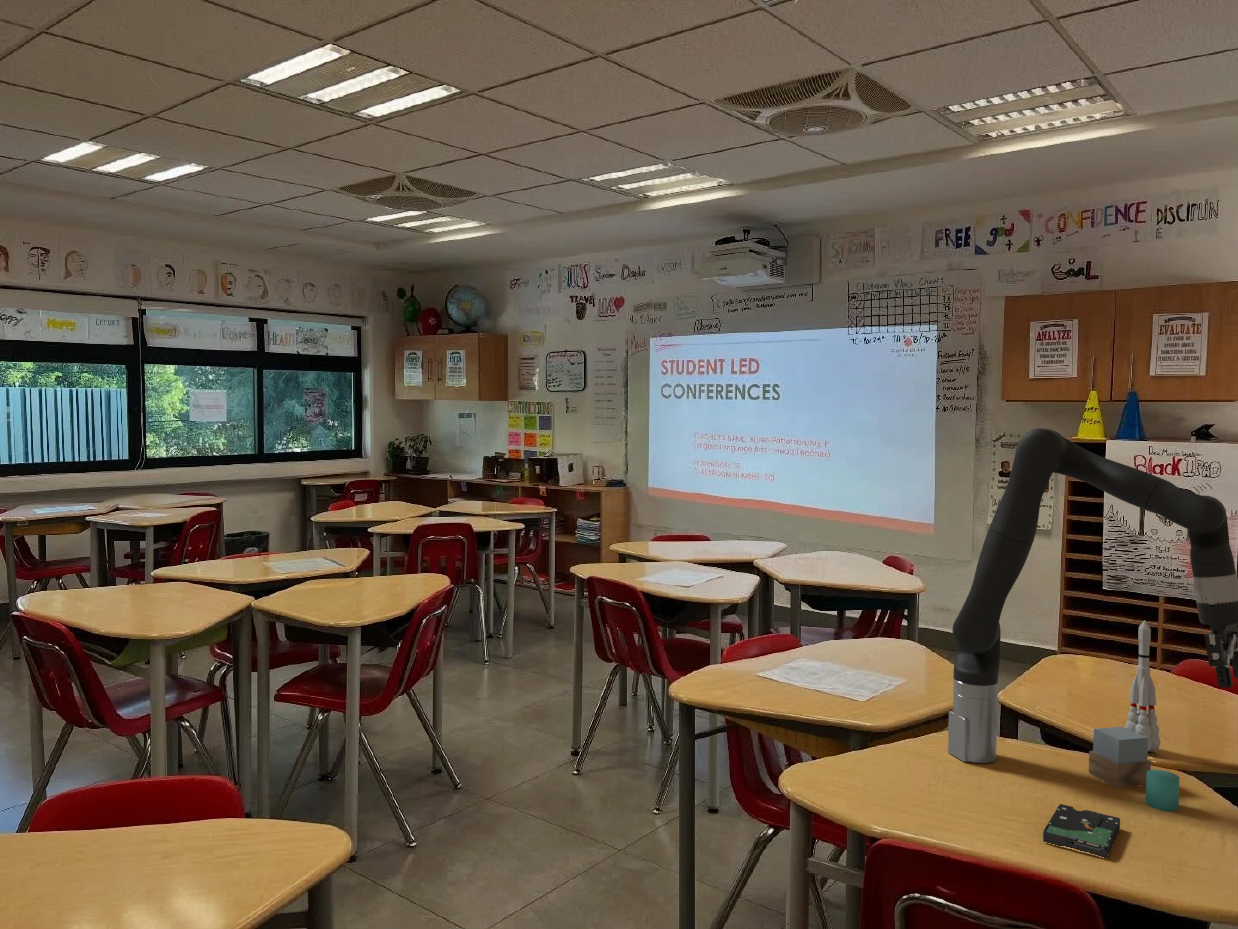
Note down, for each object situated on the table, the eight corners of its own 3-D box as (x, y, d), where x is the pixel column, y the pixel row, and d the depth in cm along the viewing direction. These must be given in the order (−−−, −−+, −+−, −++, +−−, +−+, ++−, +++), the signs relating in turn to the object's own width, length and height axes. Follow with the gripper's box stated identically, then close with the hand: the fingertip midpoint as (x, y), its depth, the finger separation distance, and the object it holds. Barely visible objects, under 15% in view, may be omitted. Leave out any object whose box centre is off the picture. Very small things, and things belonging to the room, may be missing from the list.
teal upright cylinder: (1161, 812, 170) (1162, 781, 170) (1138, 801, 176) (1139, 771, 175) (1185, 810, 172) (1186, 779, 171) (1162, 798, 177) (1163, 768, 177)
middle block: (1118, 764, 182) (1119, 740, 182) (1093, 752, 189) (1093, 728, 189) (1147, 761, 184) (1147, 737, 184) (1121, 749, 191) (1121, 726, 190)
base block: (1117, 789, 182) (1118, 765, 182) (1088, 774, 190) (1089, 751, 190) (1150, 785, 184) (1151, 761, 184) (1120, 771, 192) (1120, 748, 191)
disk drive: (1058, 817, 169) (1042, 846, 157) (1058, 803, 169) (1042, 830, 157) (1120, 832, 163) (1108, 863, 151) (1120, 817, 163) (1108, 846, 151)
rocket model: (1157, 747, 205) (1161, 618, 204) (1162, 758, 199) (1166, 625, 197) (1121, 743, 208) (1124, 616, 207) (1124, 753, 202) (1128, 622, 200)
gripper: (1210, 593, 180) (1224, 674, 178) (1183, 604, 171) (1198, 689, 170) (1253, 592, 174) (1268, 675, 173) (1228, 603, 165) (1243, 692, 164)
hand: (1233, 682), depth 171 cm, fingers open, 8 cm apart
